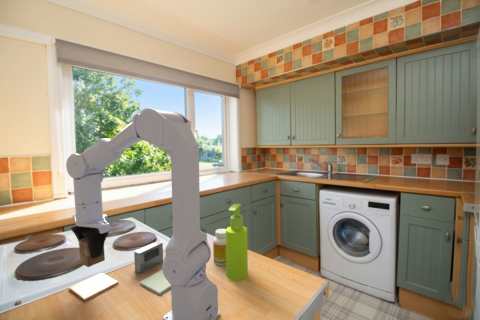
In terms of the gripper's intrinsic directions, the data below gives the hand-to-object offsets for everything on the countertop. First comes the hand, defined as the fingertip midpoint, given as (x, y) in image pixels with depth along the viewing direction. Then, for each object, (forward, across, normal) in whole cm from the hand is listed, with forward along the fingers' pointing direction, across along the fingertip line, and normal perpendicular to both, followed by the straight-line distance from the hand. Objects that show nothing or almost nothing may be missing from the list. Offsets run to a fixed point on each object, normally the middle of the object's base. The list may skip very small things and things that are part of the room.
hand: (92, 254), depth 61 cm
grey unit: (+9, -4, -14) cm, 17 cm away
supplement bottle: (+9, -20, -28) cm, 36 cm away
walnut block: (+2, 0, 0) cm, 2 cm away
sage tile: (+9, -13, -11) cm, 19 cm away
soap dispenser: (+9, -28, -24) cm, 38 cm away
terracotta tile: (+9, 0, 0) cm, 9 cm away
